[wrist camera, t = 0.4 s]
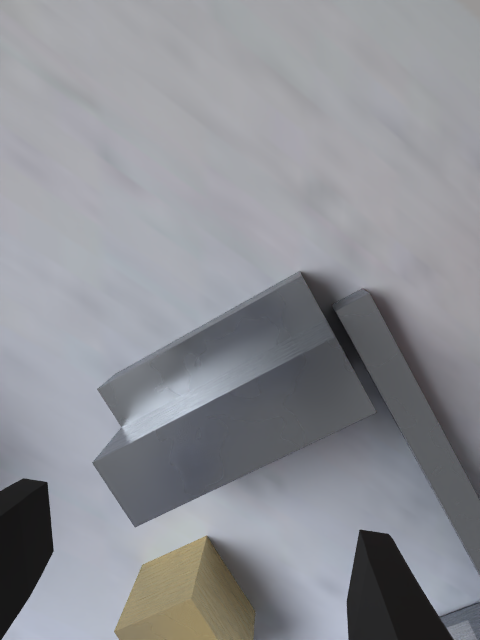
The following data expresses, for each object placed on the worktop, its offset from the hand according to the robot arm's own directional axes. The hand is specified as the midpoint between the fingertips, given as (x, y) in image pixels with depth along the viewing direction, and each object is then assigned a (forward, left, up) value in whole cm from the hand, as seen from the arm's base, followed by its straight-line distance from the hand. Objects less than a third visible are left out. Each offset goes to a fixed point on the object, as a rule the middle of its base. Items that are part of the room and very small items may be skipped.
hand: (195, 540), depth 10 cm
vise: (+1, -11, -11) cm, 15 cm away
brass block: (-8, -9, -11) cm, 16 cm away
